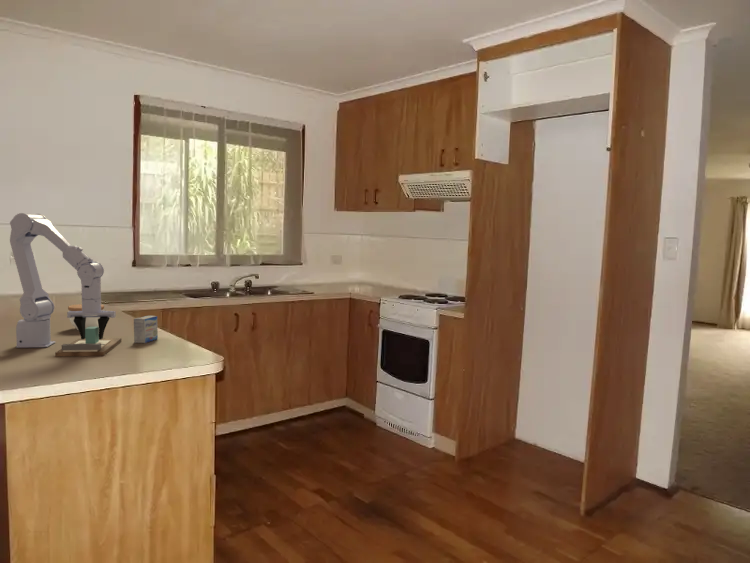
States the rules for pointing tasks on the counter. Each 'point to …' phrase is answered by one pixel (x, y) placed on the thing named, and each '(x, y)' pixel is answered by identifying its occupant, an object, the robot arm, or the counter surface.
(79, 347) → the grey flat block
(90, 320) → the lidded bowl
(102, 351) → the board
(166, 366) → the counter surface
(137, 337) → the medicine box
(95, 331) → the cream plaque with block
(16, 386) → the counter surface
